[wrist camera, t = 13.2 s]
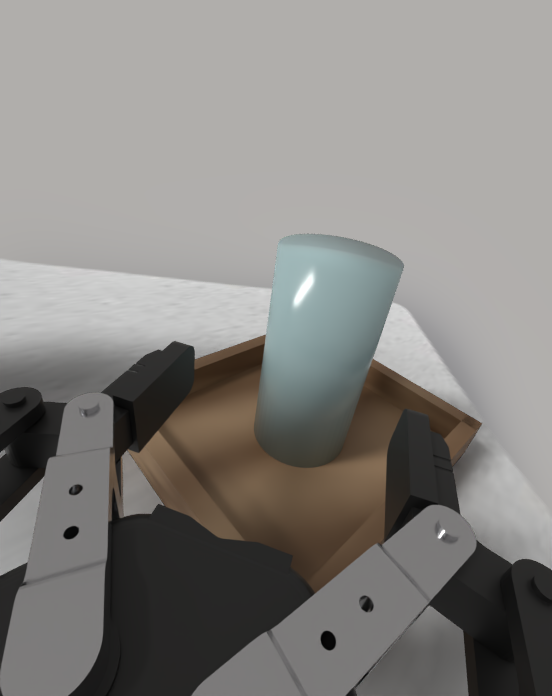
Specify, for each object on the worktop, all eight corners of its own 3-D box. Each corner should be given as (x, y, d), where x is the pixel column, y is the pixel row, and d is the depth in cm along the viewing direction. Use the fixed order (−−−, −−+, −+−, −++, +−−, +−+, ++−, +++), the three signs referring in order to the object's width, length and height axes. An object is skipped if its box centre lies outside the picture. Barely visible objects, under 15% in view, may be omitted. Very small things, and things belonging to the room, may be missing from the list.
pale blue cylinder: (239, 447, 21) (260, 255, 15) (270, 390, 26) (296, 227, 20) (335, 481, 20) (404, 288, 14) (349, 415, 25) (403, 250, 19)
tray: (111, 426, 23) (105, 391, 21) (301, 347, 34) (307, 320, 32) (279, 675, 13) (291, 646, 12) (463, 453, 25) (482, 423, 23)
